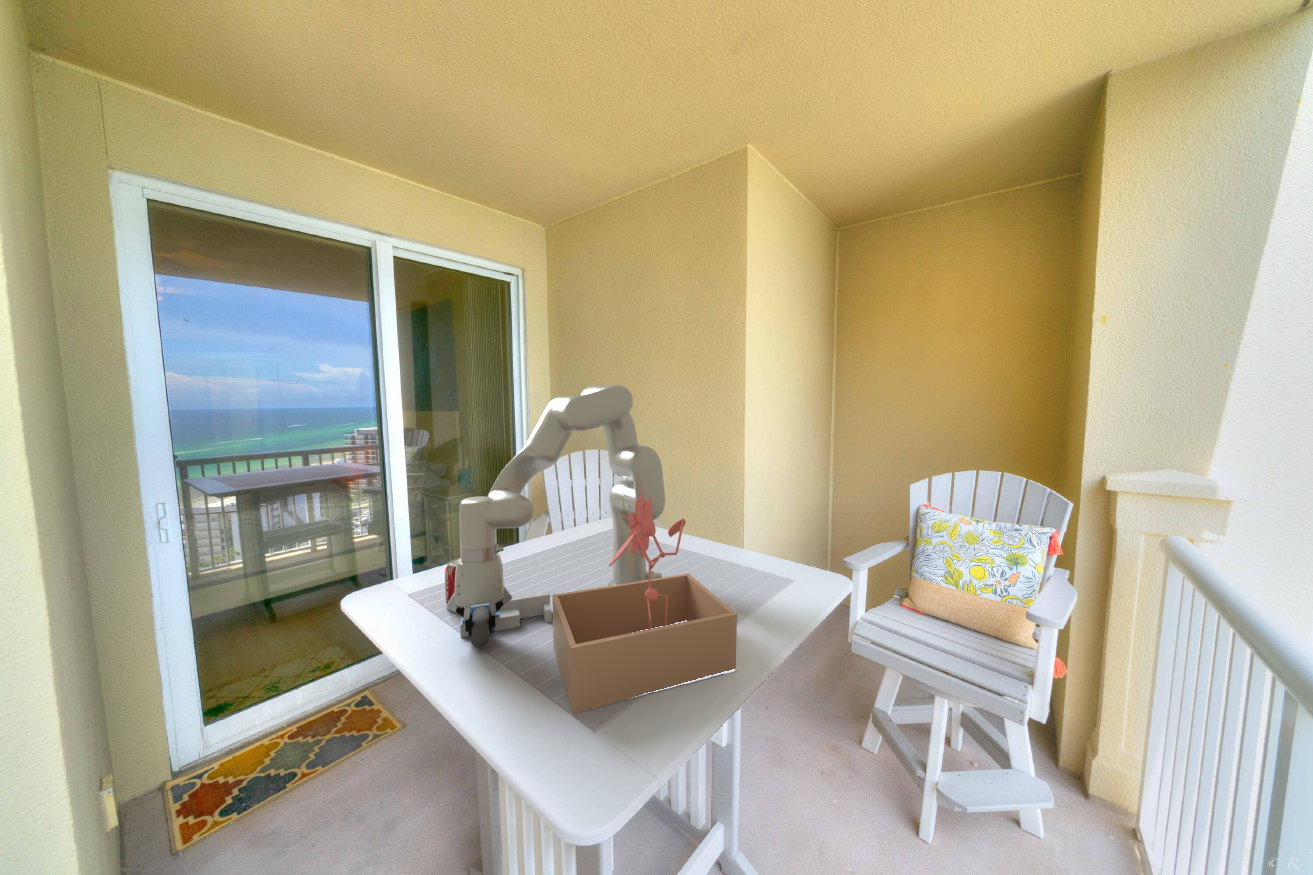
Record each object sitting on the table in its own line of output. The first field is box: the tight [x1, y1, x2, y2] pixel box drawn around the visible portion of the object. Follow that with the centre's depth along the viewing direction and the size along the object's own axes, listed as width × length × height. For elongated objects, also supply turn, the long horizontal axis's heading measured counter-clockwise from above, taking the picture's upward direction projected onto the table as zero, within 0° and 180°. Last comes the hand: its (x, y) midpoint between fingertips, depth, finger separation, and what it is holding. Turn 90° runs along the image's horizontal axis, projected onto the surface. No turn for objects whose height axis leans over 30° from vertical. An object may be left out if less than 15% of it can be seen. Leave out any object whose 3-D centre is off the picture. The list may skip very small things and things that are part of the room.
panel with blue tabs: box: [459, 592, 553, 638], centre depth 105 cm, size 21×6×5 cm, turn 112°
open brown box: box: [552, 573, 738, 715], centre depth 91 cm, size 33×22×12 cm, turn 112°
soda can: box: [444, 558, 459, 605], centre depth 114 cm, size 7×7×12 cm
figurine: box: [608, 495, 687, 629], centre depth 90 cm, size 15×26×35 cm, turn 156°
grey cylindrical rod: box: [470, 607, 490, 649], centre depth 97 cm, size 12×4×4 cm, turn 22°
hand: (480, 631), depth 98 cm, fingers closed on grey cylindrical rod, 3 cm apart
